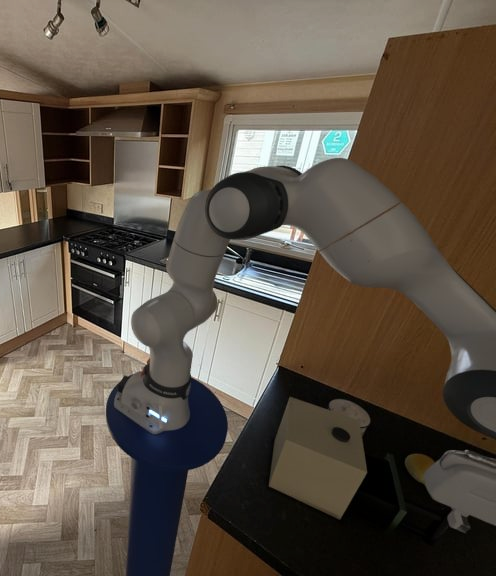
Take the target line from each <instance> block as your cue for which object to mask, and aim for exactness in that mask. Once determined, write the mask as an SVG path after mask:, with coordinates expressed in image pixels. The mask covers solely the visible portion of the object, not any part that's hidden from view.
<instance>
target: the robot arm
mask: <svg viewBox="0 0 496 576" xmlns="http://www.w3.org/2000/svg"><path fill="white" fill-rule="evenodd" d="M282 226H288V227H293V228H295V229H297V230H299V232H301V233H302V234H303V235H305V237H306V238H307V239H308V240H309V241H310V242H311V243H312V245H313V247H314V248H315V249H316V250H317V252H319V254H320V255H321V256H322V257H323V259H324V260H325V261H326V262H327V264H329V266H330V267H332V269H334V271H336V272H337V273H338V274H339V275H340V276H342V277H343V278H344V279H346V280H347V281H348V282H349V283H351V284H353V285H356V286H359V287H363V288H371V289H372V288H373V289H389V290H392V291H393V290H394V291H396V292H398V293H401V294H402V295H404V296H405V297H406V298H408V299H409V300H410V301H411V302H412V303H413V304H414V305H415V306H416V307H417V308H418V309H420V311H421V312H422V313H423V314H424V315H425V316H426V317H427V318H428V319H429V320H430V321H431V322H432V323H433V325H435V326H436V327H437V328H438V329H439V330H440V331H441V332H442V333H443V335H444V336H445V338H446V339H447V341H448V344H449V348H450V356H451V359H450V364H449V367H448V371H446V376H445V380H444V385H443V388H442V397H443V398H442V399H443V402H444V405H445V406H446V409H448V410H449V412H450V413H451V414H452V416H454V417H455V419H457V420H458V421H460V423H462V424H463V425H465V426H466V427H468V428H470V429H471V430H473V431H475V432H476V433H479V434H481V435H484V436H485V437H489V438H491V439H493V440H496V309H495V307H493V306H492V305H491V304H490V303H489V302H488V301H487V300H486V299H485V298H484V297H483V296H482V295H481V294H480V293H479V292H478V291H477V290H476V289H475V288H474V287H473V286H472V285H471V284H470V283H469V282H468V281H466V279H464V278H463V276H461V274H460V273H458V271H456V270H455V269H454V268H453V267H452V265H450V264H449V263H448V261H447V259H446V258H445V256H444V255H443V254H442V253H441V251H440V250H439V248H438V247H437V246H436V244H435V242H434V241H433V239H432V238H431V236H430V235H429V233H428V232H427V230H426V229H425V228H424V226H423V225H422V224H421V222H420V221H419V219H418V218H417V217H416V216H415V214H414V213H413V212H412V211H411V210H410V209H409V208H408V206H407V205H405V203H404V202H403V201H402V200H401V199H400V198H399V197H397V195H396V194H395V193H394V192H393V191H392V190H391V189H390V188H388V187H387V186H386V185H385V184H384V183H383V182H382V181H380V180H379V179H378V178H377V177H376V176H375V175H373V174H372V173H370V172H369V171H367V170H366V169H365V168H364V167H362V166H361V165H358V164H357V163H355V162H354V161H352V160H351V159H348V158H343V157H333V158H329V159H325V160H323V161H320V162H318V163H316V164H314V165H312V166H310V167H309V168H307V170H305V171H304V172H303V173H302V172H301V171H300V170H298V169H296V168H295V167H291V166H289V165H274V166H273V165H272V166H271V165H266V166H258V167H254V168H252V169H249V170H245V171H239V172H235V173H232V174H230V175H228V176H225V177H224V178H223V179H221V180H220V181H218V182H217V183H215V185H214V186H212V188H211V189H204V190H200V191H196V192H195V193H194V194H193V195H192V196H191V197H190V199H189V200H188V202H187V205H186V206H185V208H184V210H183V212H182V214H181V216H180V219H179V222H178V224H177V227H176V230H175V233H174V235H173V236H174V237H173V239H172V243H171V246H170V250H169V254H168V257H167V260H166V264H165V265H166V266H165V270H166V273H167V275H168V276H169V278H170V279H171V281H173V282H172V285H171V287H170V288H169V289H168V290H167V291H166V292H164V293H162V294H159V295H157V296H154V297H153V298H150V299H148V300H146V301H145V302H144V303H143V304H141V305H140V306H139V307H137V308H136V309H135V310H134V311H132V312H133V313H132V314H131V318H130V325H131V330H132V333H133V335H134V337H135V338H136V340H138V341H139V342H140V343H141V344H142V345H144V346H145V347H148V348H149V358H148V359H147V361H146V364H145V365H144V366H143V369H142V370H139V371H136V372H134V373H132V374H133V375H132V374H131V375H132V376H131V377H128V376H129V375H124V376H123V377H122V379H121V380H120V381H119V382H120V383H119V382H118V383H119V384H118V383H117V384H118V392H117V394H116V396H115V399H114V407H115V408H116V409H117V410H119V411H120V412H122V413H123V414H124V415H126V416H127V417H129V418H130V419H132V420H133V421H135V422H136V423H137V424H139V425H140V426H142V427H143V428H145V429H146V430H148V431H149V432H150V433H152V434H158V433H161V432H163V431H170V430H176V429H179V428H181V427H183V426H184V425H186V424H187V422H188V421H189V418H190V409H189V405H188V395H189V392H190V387H191V377H192V372H191V371H192V364H193V357H194V353H193V351H192V348H191V347H190V346H189V344H188V343H187V342H185V341H184V339H185V337H186V335H187V334H189V332H190V331H192V330H194V329H195V328H197V327H199V326H200V325H203V324H204V323H206V322H207V321H208V320H209V319H210V318H211V317H212V316H213V315H214V313H215V312H216V310H217V309H218V297H217V294H216V292H215V290H214V285H215V284H214V283H215V280H216V277H217V274H218V272H219V269H220V267H221V264H222V261H223V259H224V257H225V255H226V252H227V250H228V246H229V245H230V242H231V240H233V241H244V240H250V239H253V238H257V237H259V236H261V235H264V234H267V233H269V232H272V231H275V230H277V229H280V228H281V227H282ZM117 399H118V400H117ZM424 481H425V485H426V486H425V485H424V486H425V488H426V490H427V492H428V494H429V496H430V498H432V500H434V501H436V502H437V503H440V504H442V505H445V506H447V507H450V508H451V509H450V510H451V511H452V512H451V513H450V514H449V515H448V517H447V519H448V522H449V525H450V527H449V528H452V529H454V530H457V531H459V532H462V533H464V534H466V533H467V531H469V530H470V529H472V527H471V524H470V522H468V521H469V519H468V517H469V516H471V517H473V518H475V519H479V520H481V521H483V522H485V523H487V524H490V525H492V526H495V527H496V458H492V457H488V456H487V455H486V456H485V455H483V454H482V453H480V452H477V451H473V450H470V449H465V450H456V449H455V450H453V449H449V450H447V451H445V452H444V453H443V455H442V456H441V457H440V458H439V459H438V460H436V461H435V463H434V464H433V465H432V466H431V467H430V468H429V469H428V470H427V471H426V472H425V473H424Z"/></svg>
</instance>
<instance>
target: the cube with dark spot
mask: <svg viewBox="0 0 496 576" xmlns="http://www.w3.org/2000/svg"><path fill="white" fill-rule="evenodd" d="M364 452H365V449H364V442H363V436H362V435H361V429H360V422H359V420H356V419H353V418H350V417H347V416H345V415H342V414H339V413H336V412H333V411H330V410H328V408H324V407H321V406H318V405H316V404H312V403H309V402H308V401H304V400H301V399H298V398H295V397H292V396H289V398H288V401H287V404H286V407H285V410H284V412H283V415H282V418H281V421H280V424H279V427H278V430H277V433H276V436H275V438H274V442H273V450H272V457H271V463H270V465H271V466H270V472H269V473H270V474H269V481H268V487H269V488H271V489H274V490H276V491H278V492H280V493H282V494H285V495H287V496H288V497H290V498H292V499H295V500H298V501H299V502H302V503H303V504H305V505H307V506H310V507H312V508H314V509H316V510H318V511H321V512H323V513H325V514H327V515H329V516H331V517H333V518H334V519H337V520H341V519H342V517H343V515H344V514H345V510H346V508H347V507H348V505H349V503H350V501H351V500H352V498H353V496H354V495H355V493H356V491H357V489H358V488H359V486H360V484H361V482H362V481H363V479H364V477H365V476H366V474H367V467H366V461H365V454H364Z"/></svg>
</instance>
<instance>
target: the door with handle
mask: <svg viewBox="0 0 496 576" xmlns="http://www.w3.org/2000/svg"><path fill="white" fill-rule="evenodd" d="M364 454H365V461H366V467H367V474H366V476H365V477H364V479H363V481H362V482H361V484H360V486H359V488H358V489H357V491H356V493H355V495H354V496H353V498H352V500H351V501H350V503H349V505H348V507H347V508H346V510H345V512H344V514H347V515H349V516H351V517H354V518H356V519H358V520H360V521H362V522H363V523H364V522H365V523H367V524H369V525H371V526H373V527H375V528H377V529H379V530H381V535H382V536H384V537H386V538H388V539H389V538H390V537H391V535H392V533H393V532H394V531H395V530H396V528H397V527H398V528H401V529H402V530H404V531H407V532H409V533H411V534H413V535H416V536H419V537H420V539H421V540H422V541H423V542H424V543H425V544H427V545H428V546H432V547H433V546H434V545H435V544H437V542H438V541H439V540H440V539H441V538H442V536H443V535H444V534H445V533H446V532H447V531H448V530H449V528H451V527H450V525H449V522H448V519H447V517H448V515H449V514H450V513H451V512H452V509H449V508H447V507H443V508H441V509H440V510H436V509H433V508H431V507H429V506H427V505H425V504H422V503H419V502H417V501H414V500H412V499H409V498H407V497H405V496H404V494H403V490H402V486H401V481H400V477H399V473H398V470H397V466H396V461H395V457H394V455H393V454H391V453H389V452H387V453H386V455H385V456H384V458H382V457H380V456H378V455H375V454H372V453H370V452H366V451H364ZM407 509H409V510H412V511H413V512H416V513H419V514H421V515H423V516H426V517H427V518H430V519H432V520H431V522H430V523H429V524H428V525H427V526H426V528H423V527H421V526H419V525H416V524H415V523H412V522H410V521H407V520H405V519H404V517H405V516H406V515H407V513H408V511H407Z"/></svg>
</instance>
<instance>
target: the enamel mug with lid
mask: <svg viewBox="0 0 496 576" xmlns="http://www.w3.org/2000/svg"><path fill="white" fill-rule="evenodd" d="M327 410H330V411H333V412H336V413H339V414H342V415H345V416H347V417H350V418H353V419H356V420H359V422H360V429H361V435H362V437H363V435H364V434H365V432H366V430H367V428H368V427H370V425H371V418H370V415H369V413H368V412H367V411H366V410H365V409H364V408H363V407H361V406H360V405H358V404H356V403H355V402H353V401H350V400H347V399H343V398H337V399H333V400H331V401H330V402H329V403H328V405H327Z"/></svg>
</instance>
